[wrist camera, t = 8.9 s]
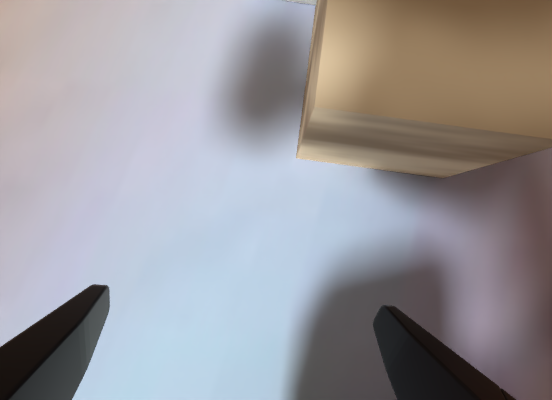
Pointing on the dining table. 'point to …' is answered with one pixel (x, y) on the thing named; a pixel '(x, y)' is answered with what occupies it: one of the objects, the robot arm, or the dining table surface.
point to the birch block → (427, 84)
